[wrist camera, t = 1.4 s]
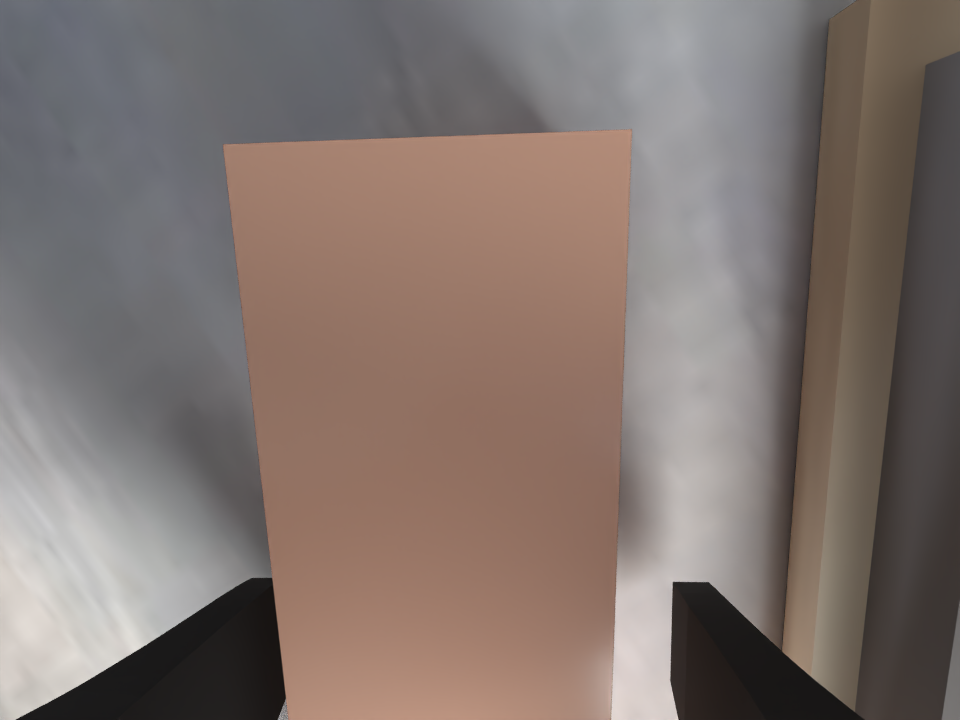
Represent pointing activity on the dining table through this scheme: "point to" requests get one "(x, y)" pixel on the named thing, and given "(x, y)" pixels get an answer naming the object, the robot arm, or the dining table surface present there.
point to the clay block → (438, 416)
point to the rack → (883, 373)
